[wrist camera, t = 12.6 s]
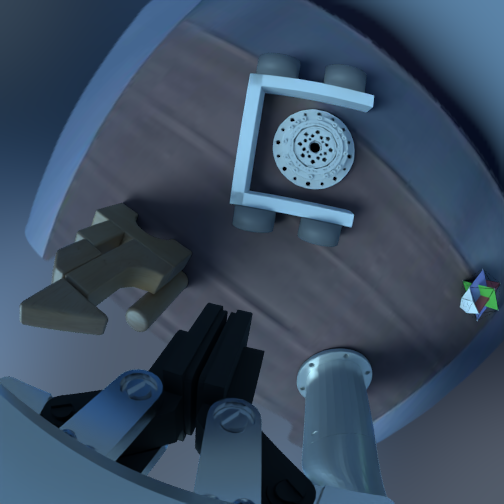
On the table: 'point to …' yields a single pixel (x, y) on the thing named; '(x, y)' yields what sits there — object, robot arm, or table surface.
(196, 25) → the table surface
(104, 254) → the wooden toy
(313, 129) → the mechanical component
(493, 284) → the geometric puzzle
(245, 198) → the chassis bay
